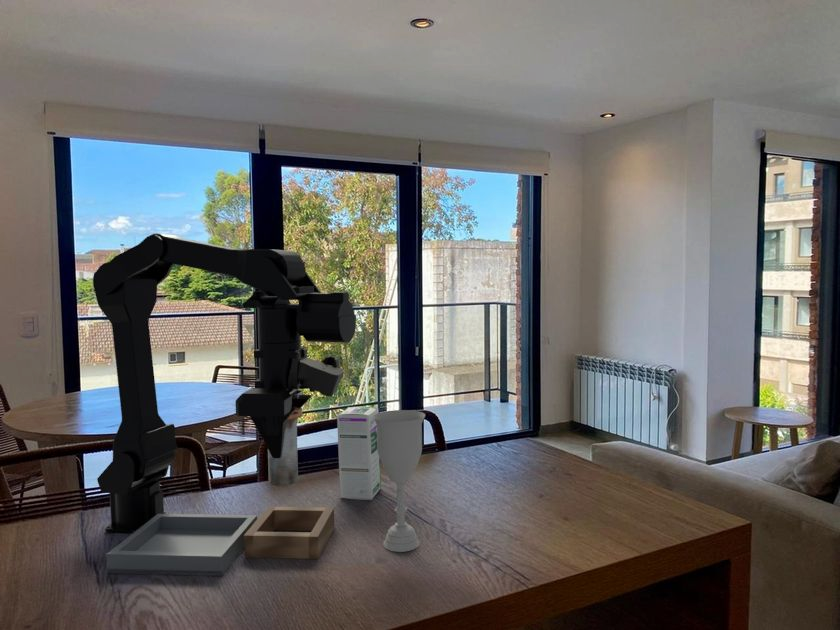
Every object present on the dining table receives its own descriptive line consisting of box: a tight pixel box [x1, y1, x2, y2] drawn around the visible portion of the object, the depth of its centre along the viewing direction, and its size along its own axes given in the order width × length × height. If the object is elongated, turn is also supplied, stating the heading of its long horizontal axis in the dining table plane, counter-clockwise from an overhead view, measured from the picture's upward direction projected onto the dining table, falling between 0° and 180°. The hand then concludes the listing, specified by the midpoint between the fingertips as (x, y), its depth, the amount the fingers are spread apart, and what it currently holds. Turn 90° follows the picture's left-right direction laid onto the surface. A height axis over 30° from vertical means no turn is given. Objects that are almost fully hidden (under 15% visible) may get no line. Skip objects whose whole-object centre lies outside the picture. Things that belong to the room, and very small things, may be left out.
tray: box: [105, 513, 258, 577], centre depth 82 cm, size 15×13×2 cm
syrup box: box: [336, 406, 382, 501], centre depth 103 cm, size 6×6×14 cm
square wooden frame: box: [243, 506, 336, 560], centre depth 85 cm, size 10×10×3 cm
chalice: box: [373, 409, 426, 553], centre depth 83 cm, size 7×7×18 cm
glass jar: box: [267, 406, 303, 487], centre depth 84 cm, size 6×6×10 cm
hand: (282, 452), depth 84 cm, fingers closed on glass jar, 5 cm apart
